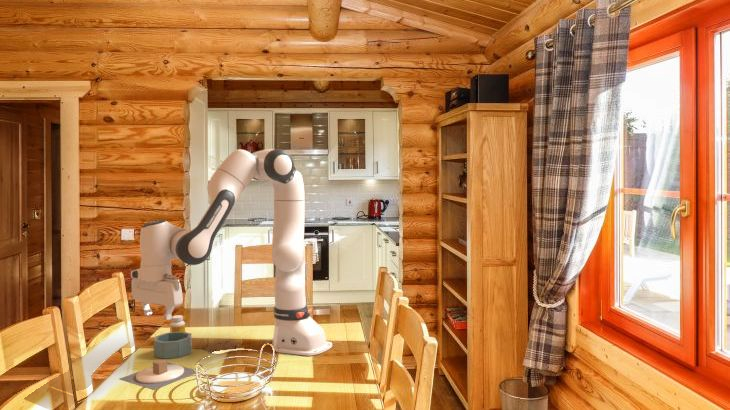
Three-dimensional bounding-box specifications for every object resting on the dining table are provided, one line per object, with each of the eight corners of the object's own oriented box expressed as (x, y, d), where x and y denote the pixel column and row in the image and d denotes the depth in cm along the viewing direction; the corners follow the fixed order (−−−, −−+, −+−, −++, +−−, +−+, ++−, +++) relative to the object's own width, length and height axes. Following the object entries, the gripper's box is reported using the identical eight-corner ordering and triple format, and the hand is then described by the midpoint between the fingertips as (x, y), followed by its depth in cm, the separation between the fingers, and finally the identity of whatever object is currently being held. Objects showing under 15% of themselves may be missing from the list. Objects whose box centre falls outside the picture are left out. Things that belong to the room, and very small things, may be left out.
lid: (193, 371, 170) (193, 358, 170) (155, 387, 158) (155, 372, 158) (164, 364, 178) (164, 351, 177) (126, 378, 166) (125, 364, 166)
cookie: (213, 357, 186) (213, 354, 186) (201, 348, 196) (201, 345, 196) (246, 350, 193) (246, 347, 193) (232, 342, 203) (232, 339, 203)
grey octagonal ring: (198, 351, 191) (198, 334, 191) (170, 361, 181) (169, 344, 180) (176, 346, 197) (175, 330, 197) (147, 355, 187) (147, 338, 187)
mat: (200, 372, 171) (200, 371, 171) (154, 391, 156) (154, 389, 156) (165, 363, 180) (165, 361, 180) (118, 380, 165) (118, 378, 165)
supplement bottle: (167, 341, 203) (166, 316, 202) (181, 338, 207) (180, 313, 206) (175, 344, 199) (174, 319, 198) (188, 341, 203) (187, 316, 202)
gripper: (187, 274, 163) (188, 319, 164) (144, 268, 174) (146, 310, 175) (169, 277, 158) (171, 324, 159) (127, 271, 169) (128, 315, 170)
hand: (157, 317), depth 167 cm, fingers open, 8 cm apart
